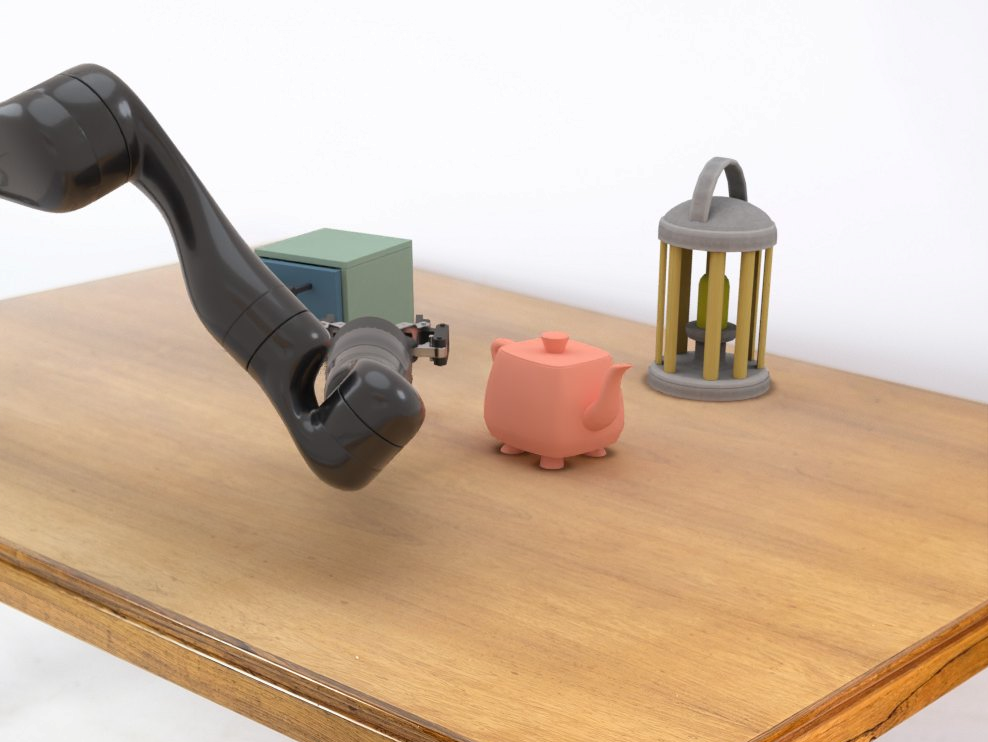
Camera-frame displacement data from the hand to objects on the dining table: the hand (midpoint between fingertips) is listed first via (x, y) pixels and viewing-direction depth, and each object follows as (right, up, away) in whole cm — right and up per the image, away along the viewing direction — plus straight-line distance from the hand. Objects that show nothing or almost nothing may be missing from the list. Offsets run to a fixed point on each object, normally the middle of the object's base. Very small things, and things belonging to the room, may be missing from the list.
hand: (375, 324), depth 159 cm
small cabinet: (-11, +8, +39) cm, 42 cm away
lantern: (+34, 0, +29) cm, 45 cm away
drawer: (-12, +7, +35) cm, 38 cm away
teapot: (+18, -12, +5) cm, 22 cm away
